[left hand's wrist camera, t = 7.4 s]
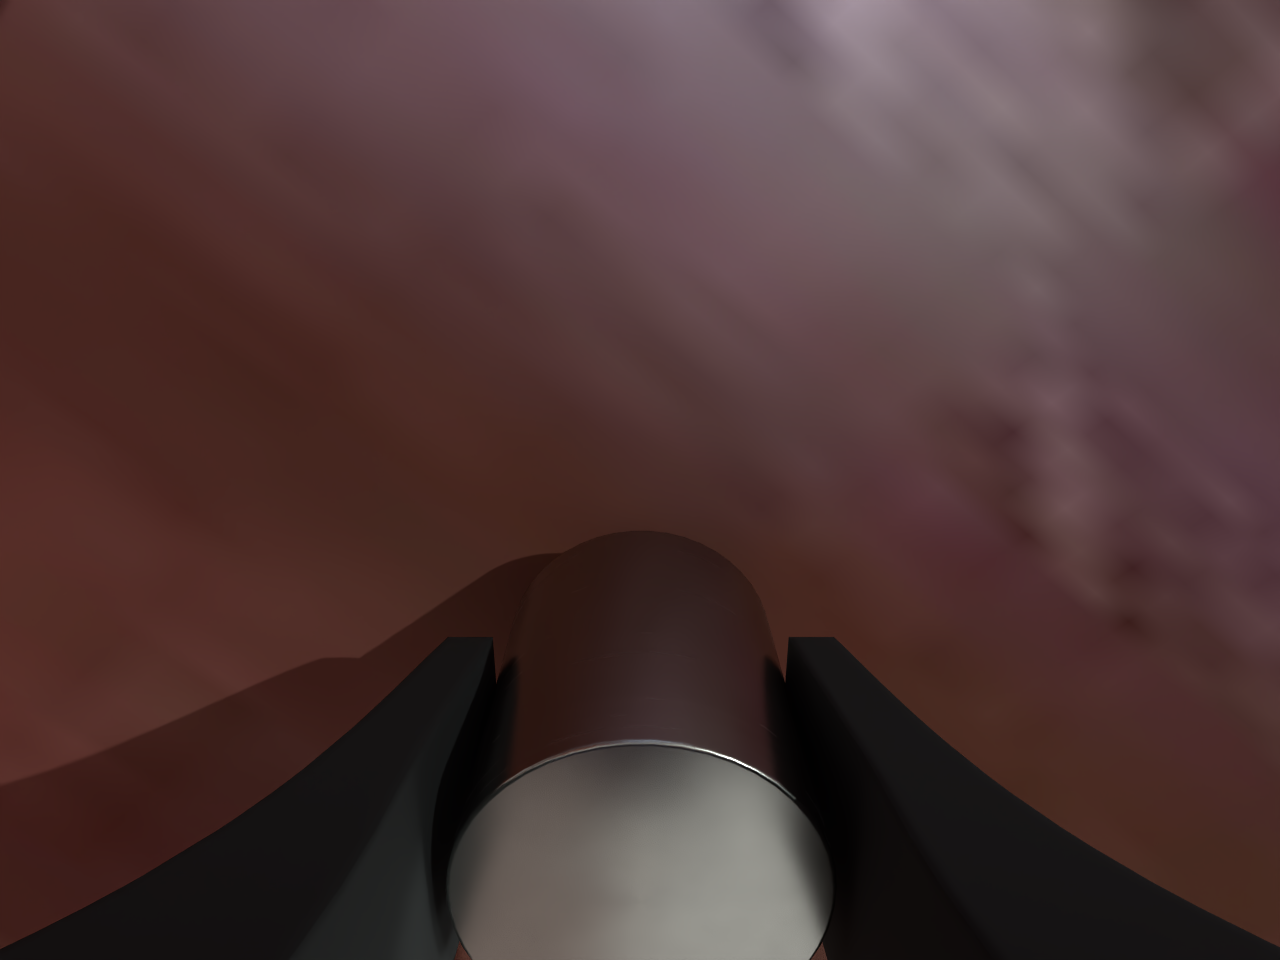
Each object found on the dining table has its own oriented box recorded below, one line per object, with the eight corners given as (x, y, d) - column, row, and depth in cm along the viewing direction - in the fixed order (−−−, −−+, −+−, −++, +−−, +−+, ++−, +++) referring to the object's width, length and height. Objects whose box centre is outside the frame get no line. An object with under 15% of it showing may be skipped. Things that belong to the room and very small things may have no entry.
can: (674, 787, 14) (690, 1082, 9) (465, 677, 13) (375, 941, 8) (822, 614, 12) (919, 858, 8) (601, 480, 12) (577, 671, 7)
